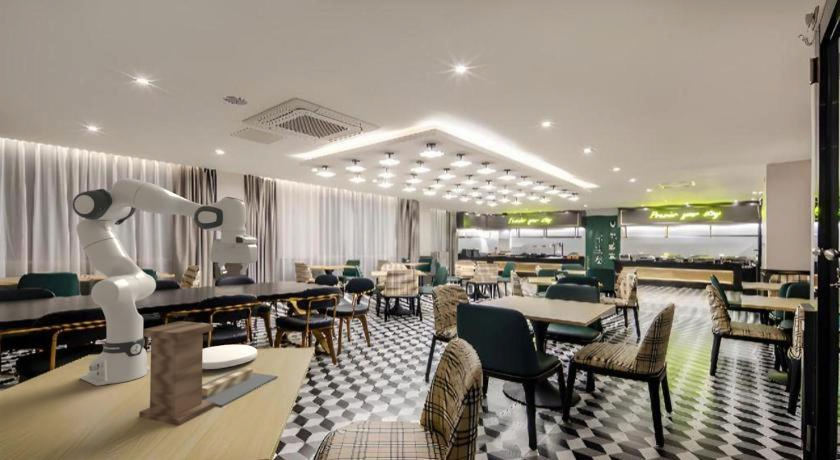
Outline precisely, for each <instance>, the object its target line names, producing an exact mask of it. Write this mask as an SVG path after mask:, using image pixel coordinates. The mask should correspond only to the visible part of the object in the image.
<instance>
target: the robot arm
mask: <svg viewBox="0 0 840 460" xmlns="http://www.w3.org/2000/svg"><path fill="white" fill-rule="evenodd" d="M72 209H73V212H74V213H75V214H76V215H77V216H79V217H81V218H83V219H82V220H80V221H79V222H78V223H77V225H76V234H77V237H78V240H79V243H80V244H81V247H82V249H83V251H84V253H85V254H86V256H87V258H88V260H89V263H90V264H91V266H92V267H93V269H95V270H96V271H98V272H100V273H101V274H103V275H104V276H105V277H106V278H104V279H101V280H99V281H98V282H96V283H95V284H94V285H93V287H92V289H91V292H90V293H91V298H92V300H93V302H94V303H95V304H96V305H98V306H100V308H101V310H102V312H103V314H104V317H105V321H106V322H105V323H106V341H105V342H101V343H102V345H101V346H102V348H103V349H102V352H101V353H99V354H98V355H96V356H95V358H93V359H92V360H91V361H90V363H89V367H88V372H86V373H84V374H82V375H80V380H83V381H85V382H88V383H90V384H92V385H93V386H97V387H98V386H104V385H110V384H118V383H119V384H120V383H124V382H129V381H133V380H137V379H140V378H141V377H145V376H146V375H147V374H148V372H149V370H151V365H148V357H147V355H148V354H147V350H146V349H145V348H144V347H145V343H146V342H145V336H143V329H144V317H143V316H142V315H141V314H140V313H139V311H138V309H137V306H136V302H138V301H142V300H144V299H146V298H148V297H149V296H151V295H152V294H153V293H154V292H155V290H156V288H157V283H156V280H155V279H154V277H153V276H152V275H150V274H148V273H146V272H145V271H143V269H142V268H140V266H138V265H137V264H136V263H135V262H134V260H133V259H132V257H130V256H129V253H128V252H127V251H126V249H125V247H124V245H123V243H122V242H121V240H120V238H119V236H118V235H117V233H116V231H115V225H116V226H119V225H122V224H123V223H124V222H125V221H126V220H128V219H129V218H131V217H132V216H133V215H134V214H135V213H136V210H139V211H142V212H146V213H151V214H157V215H158V214H159V215H177V216H184V217H189V218H192V219H193V220H194V223H195V225H196V226H197V227H198V228H199V229H202V230H205V231H216V232H220V238H216V239H214V240H213V241H212V243H211V244H212V245H211V248H210V249H211V250H210V255H209V256H210V257H209V258H210V259H209V260H210V262H211V263H217V266H218V268H219V271H220V274H221V275H227V273H228V269H226V268H225V267H226V266H225V265H226V264H228V263H230V264H241V267H242V268H241V269H240V270H239V275H240V276H246V275H247V270H248V268H249V266H250V264H256V263H257V261H258V257H259V256H258V246H257V245H256V244H257V243H258V239H257V238H256V237H254V236H252V235H250V234H249V235H248V234H247V228H246V223H247V207H246V203H245V201H244V200H242V199H240V198H237V197H230V196H226V197H222V199H220V200H218V201H216V202H214V203H211V204H210V203H209V204H206V205H204V204H201V203H198V202H196V201H195V202H194V201H193V200H192V201H191V200H189V199H186V198H185V197H182V196H180V195H178V194H177V193H174V192H172V191H170V190H168V189H166V188H164V187H162V186H159V185H157V184H155V183H151V182H148V181H146V180H145V181H144V180H141V179H135V178H131V177H123V178H120V179H117V180H116V181H115V182H114V184H113V185H112V187H111V189H108V190H106V189H105V188H98V189H93V190H87V191H83V192H80V193H78V194H77V195H76V196H75V197H74V198H73V201H72Z"/></svg>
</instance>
